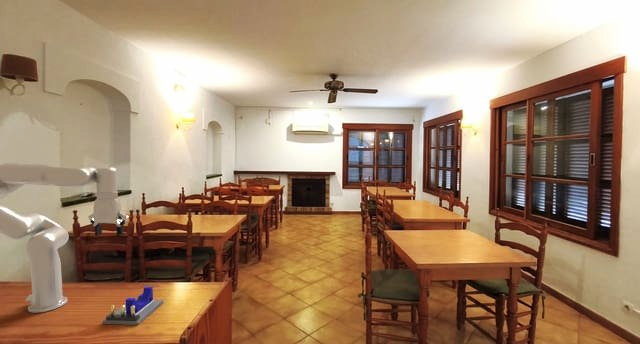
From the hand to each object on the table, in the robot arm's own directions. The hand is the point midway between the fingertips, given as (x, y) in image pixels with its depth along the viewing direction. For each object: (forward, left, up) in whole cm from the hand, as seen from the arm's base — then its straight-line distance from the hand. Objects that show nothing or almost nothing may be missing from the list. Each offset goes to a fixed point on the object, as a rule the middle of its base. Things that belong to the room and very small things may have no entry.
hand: (109, 235), depth 139 cm
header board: (+18, -11, -28) cm, 35 cm away
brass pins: (+18, -18, -27) cm, 37 cm away
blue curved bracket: (+18, -9, -27) cm, 34 cm away
